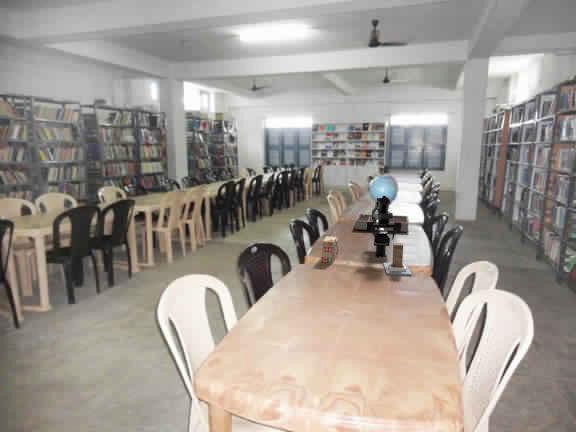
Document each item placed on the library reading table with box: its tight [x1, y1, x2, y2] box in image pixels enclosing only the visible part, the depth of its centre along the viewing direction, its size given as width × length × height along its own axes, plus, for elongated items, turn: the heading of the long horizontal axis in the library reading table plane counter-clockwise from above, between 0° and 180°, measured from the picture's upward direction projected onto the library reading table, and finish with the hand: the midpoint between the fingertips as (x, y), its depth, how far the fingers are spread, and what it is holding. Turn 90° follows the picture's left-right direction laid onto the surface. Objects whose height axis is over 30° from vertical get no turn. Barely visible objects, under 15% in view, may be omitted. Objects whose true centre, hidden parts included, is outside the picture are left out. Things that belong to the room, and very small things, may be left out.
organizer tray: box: [354, 212, 410, 233], centre depth 309 cm, size 32×40×10 cm
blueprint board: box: [383, 262, 413, 277], centre depth 203 cm, size 18×12×2 cm, turn 172°
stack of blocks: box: [321, 235, 339, 264], centre depth 226 cm, size 21×6×12 cm, turn 166°
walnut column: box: [391, 242, 404, 268], centre depth 201 cm, size 4×4×13 cm
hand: (384, 239), depth 212 cm, fingers open, 9 cm apart
